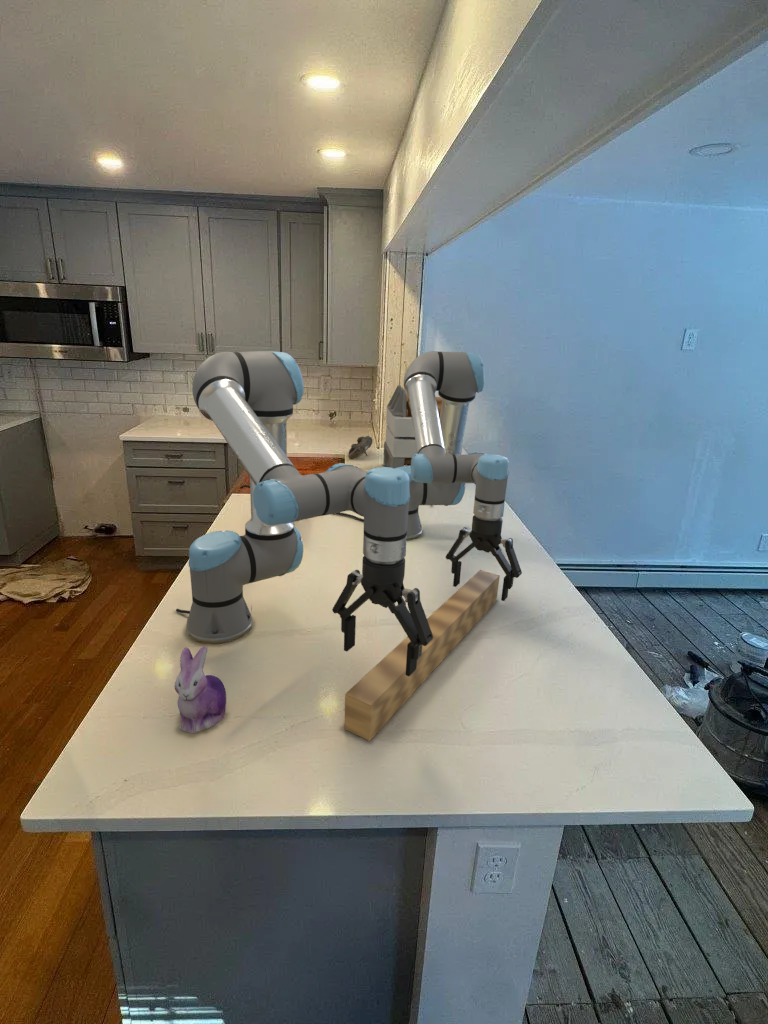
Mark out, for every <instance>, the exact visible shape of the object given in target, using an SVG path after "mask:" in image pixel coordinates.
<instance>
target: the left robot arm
mask: <svg viewBox="0 0 768 1024" xmlns="http://www.w3.org/2000/svg"><path fill="white" fill-rule="evenodd" d="M304 388H305V387H304V379H303V374H302V371H301V368H300V367H299V365H298V363H297V361H296V360H295V359H294V357H293V356H292V355H290V354H289V353H287V352H284V351H283V352H282V351H274V350H273V351H272V350H263V351H262V350H259V351H258V350H257V351H254V350H253V351H223V352H222V351H221V352H217V353H215V354H213V355H211V356H209V357H207V358H206V359H205V360H203V362H202V363H201V364H200V365H199V366H198V368H197V370H196V372H195V374H194V376H193V380H192V387H191V391H192V397H193V401H194V403H195V406H196V407H197V409H198V410H199V412H200V413H201V415H202V416H203V417H204V418H206V419H207V420H209V421H211V422H213V423H214V425H215V426H216V428H217V429H218V431H219V433H220V434H221V435H222V437H223V438H224V440H225V441H226V443H227V444H228V446H229V448H230V449H231V451H232V452H233V454H234V455H235V456H236V458H237V460H238V461H239V463H240V464H241V466H242V467H243V468H244V470H245V471H246V473H247V475H248V476H249V486H250V488H249V493H250V519H249V520H248V521H247V522H246V523H245V524H244V534H243V535H239V533H238V532H237V531H233V530H224V531H223V530H216V531H211V532H208V533H206V534H203V535H202V536H199V537H198V538H196V539H195V540H194V541H193V542H192V543H191V545H190V546H189V549H188V567H189V575H190V587H191V589H190V590H191V599H192V600H191V601H192V602H191V606H190V610H188V609H187V610H185V609H179V608H176V609H175V611H176V612H177V613H181V614H188V617H187V619H186V625H185V626H186V634H187V636H188V638H190V639H191V640H193V641H195V642H197V643H201V644H206V645H220V644H227V643H231V642H234V641H237V640H239V639H241V638H243V637H245V636H246V635H247V634H248V633H249V632H250V631H251V630H252V626H253V618H252V611H253V605H251V606H250V609H249V607H248V604H247V602H246V600H245V598H244V586H245V585H249V584H252V583H256V582H260V581H264V580H269V579H272V578H276V577H283V576H285V575H286V574H290V573H293V572H295V571H297V569H298V568H299V567H300V565H301V564H302V562H303V557H304V542H303V540H302V534H301V532H300V530H299V529H298V528H297V527H295V524H294V523H295V522H299V521H303V520H307V519H313V518H317V517H324V516H329V515H335V514H334V513H339V512H340V513H345V512H353V513H355V514H357V515H358V516H360V517H363V519H364V522H363V537H362V539H363V541H362V554H363V556H362V563H361V565H362V569H361V570H362V571H360V570H359V569H354V570H353V571H352V572H350V573H349V574H347V578H346V584H345V586H344V587H343V589H342V590H341V593H340V594H339V597H338V598H337V599H336V602H335V604H334V605H333V607H332V608H331V609H332V612H333V614H337V615H339V617H340V619H341V620H340V630H341V632H342V633H343V651H344V652H349V651H350V650H351V649H352V648H353V647H355V646H356V626H357V625H356V622H357V615H355V614H354V612H356V611H357V610H358V609H359V608H360V607H361V606H363V604H365V603H366V602H367V601H370V602H371V604H373V605H379V606H380V607H382V608H385V609H387V608H388V609H389V611H390V613H391V614H392V615H394V616H395V618H396V619H397V621H398V622H399V624H400V626H401V627H402V629H403V631H404V633H405V634H406V637H408V638H409V639H410V642H409V643H408V645H407V661H406V675H407V676H410V675H411V674H412V673H413V672H414V671H415V670H416V666H417V660H418V659H419V658H420V657H421V655H422V645H423V646H426V645H427V644H428V643H429V642H430V641H431V640H432V639H433V634H432V632H431V629H430V626H429V623H428V621H427V618H428V617H427V615H426V613H425V610H424V607H423V605H422V602H421V591H420V589H419V588H417V587H414V588H413V589H409V588H405V584H404V579H405V573H406V572H405V571H406V558H405V557H406V555H407V540H406V539H407V524H408V510H409V500H410V492H409V476H408V474H407V473H406V472H405V471H403V470H400V469H394V468H391V467H387V466H379V467H373V468H370V469H369V470H367V471H366V470H364V469H362V468H360V467H358V466H357V465H353V464H348V463H343V462H339V463H335V464H333V465H331V466H330V467H329V468H327V469H326V471H324V472H323V471H322V472H317V473H310V474H301V473H300V472H299V470H298V469H297V468H296V467H295V465H294V463H292V461H291V460H290V458H289V457H288V451H287V450H288V446H287V445H288V443H287V441H288V440H287V439H288V438H287V437H288V436H287V435H288V434H287V421H288V420H289V419H290V418H291V417H292V416H293V415H294V405H297V404H298V403H300V402H301V401H302V397H303V396H304ZM359 584H361V587H362V588H363V590H364V592H363V593H362V594H361V595H359V596H358V598H357V599H356V600H355V601H353V602H352V603H351V604H350V605H349V606H347V607H346V605H347V604H348V603H349V601H350V599H351V597H352V596H353V594H354V592H355V591H356V589H357V587H358V585H359ZM396 603H397V604H396ZM395 604H396V605H395Z"/></svg>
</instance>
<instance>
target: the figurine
mask: <svg viewBox="0 0 768 1024" xmlns="http://www.w3.org/2000/svg"><path fill="white" fill-rule="evenodd" d="M207 655H208V647H207V646H206V645H203V646H201V647H200V648H199V650H198V651H197V652H196V654H195V655H194V656H193V654H192V652H191V649H190V648H189V647H183V649H182V650H181V653H180V656H179V661H180V662H179V667H180V671H179V672H178V674H177V676H176V679H175V681H174V690H175V692H176V693H177V694H178V695H179V696H178V698H177V703H176V704H177V705H176V706H177V708H178V709H177V710H178V711H179V714H180V717H181V718H180V719H181V720H180V724H179V727H180V728H179V729H180V730H181V731H184V732H187V733H190V734H196V733H199V732H200V731H202V730H208V729H211V728H212V727H214V726H215V725H216V724H218V723H220V721H221V720H223V718H225V715H226V711H227V709H226V708H227V691H226V687H225V684H224V682H223V681H222V679H220V677H218V676H216V675H212V674H207V675H206V674H205V672H204V666H205V664H206V660H207Z"/></svg>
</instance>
